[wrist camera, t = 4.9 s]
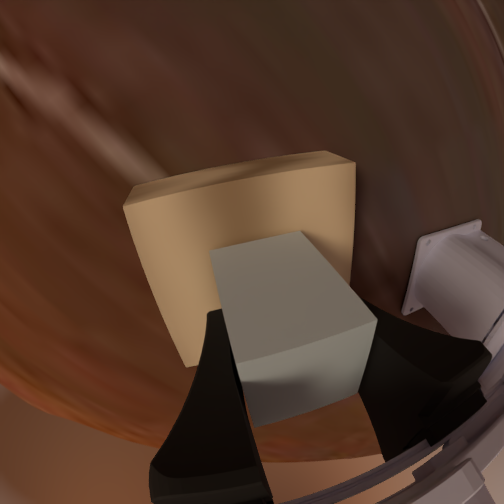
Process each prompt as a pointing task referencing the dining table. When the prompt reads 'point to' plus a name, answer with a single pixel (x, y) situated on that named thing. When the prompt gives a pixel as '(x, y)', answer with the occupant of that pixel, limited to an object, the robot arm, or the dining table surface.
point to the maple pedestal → (235, 227)
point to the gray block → (291, 326)
